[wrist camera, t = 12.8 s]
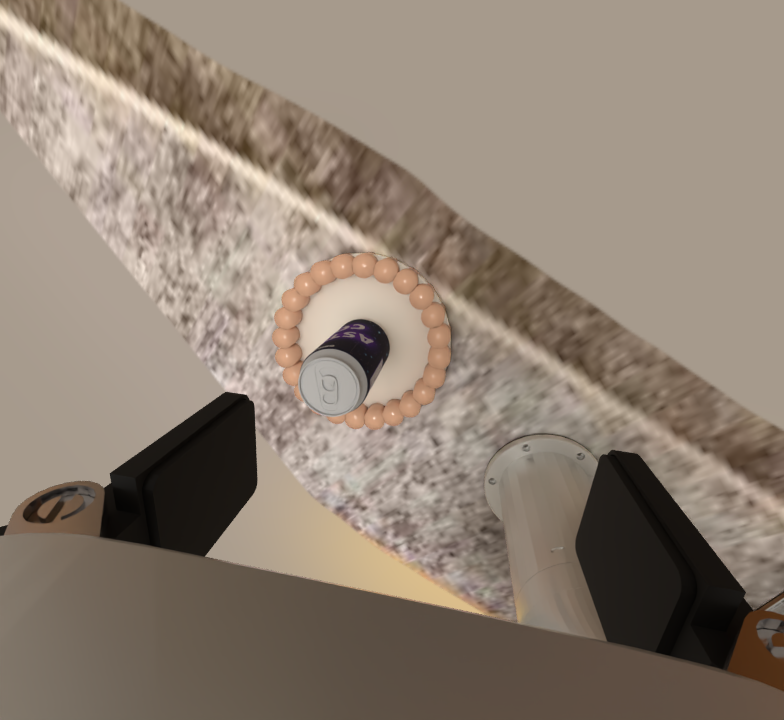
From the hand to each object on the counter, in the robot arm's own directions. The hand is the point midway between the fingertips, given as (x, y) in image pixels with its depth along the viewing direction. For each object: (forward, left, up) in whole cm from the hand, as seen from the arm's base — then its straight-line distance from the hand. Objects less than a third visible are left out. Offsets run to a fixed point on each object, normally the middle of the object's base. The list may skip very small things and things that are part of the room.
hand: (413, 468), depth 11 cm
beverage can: (+8, +6, -30) cm, 31 cm away
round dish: (+8, +6, -30) cm, 32 cm away
